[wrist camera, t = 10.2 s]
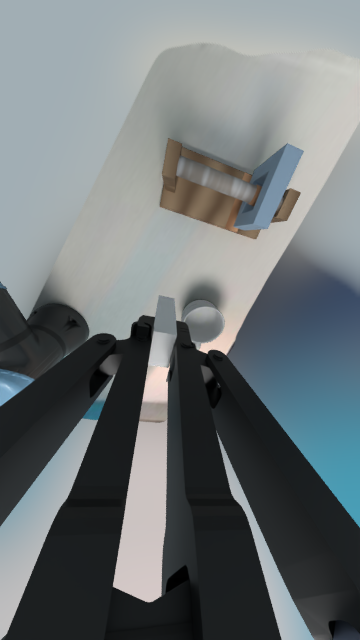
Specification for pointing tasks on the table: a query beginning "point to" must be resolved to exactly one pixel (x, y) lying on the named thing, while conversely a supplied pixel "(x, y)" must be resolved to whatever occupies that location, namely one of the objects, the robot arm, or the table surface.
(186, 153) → the wooden rod stand
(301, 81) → the table surface
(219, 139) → the table surface
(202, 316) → the teacup
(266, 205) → the ring
